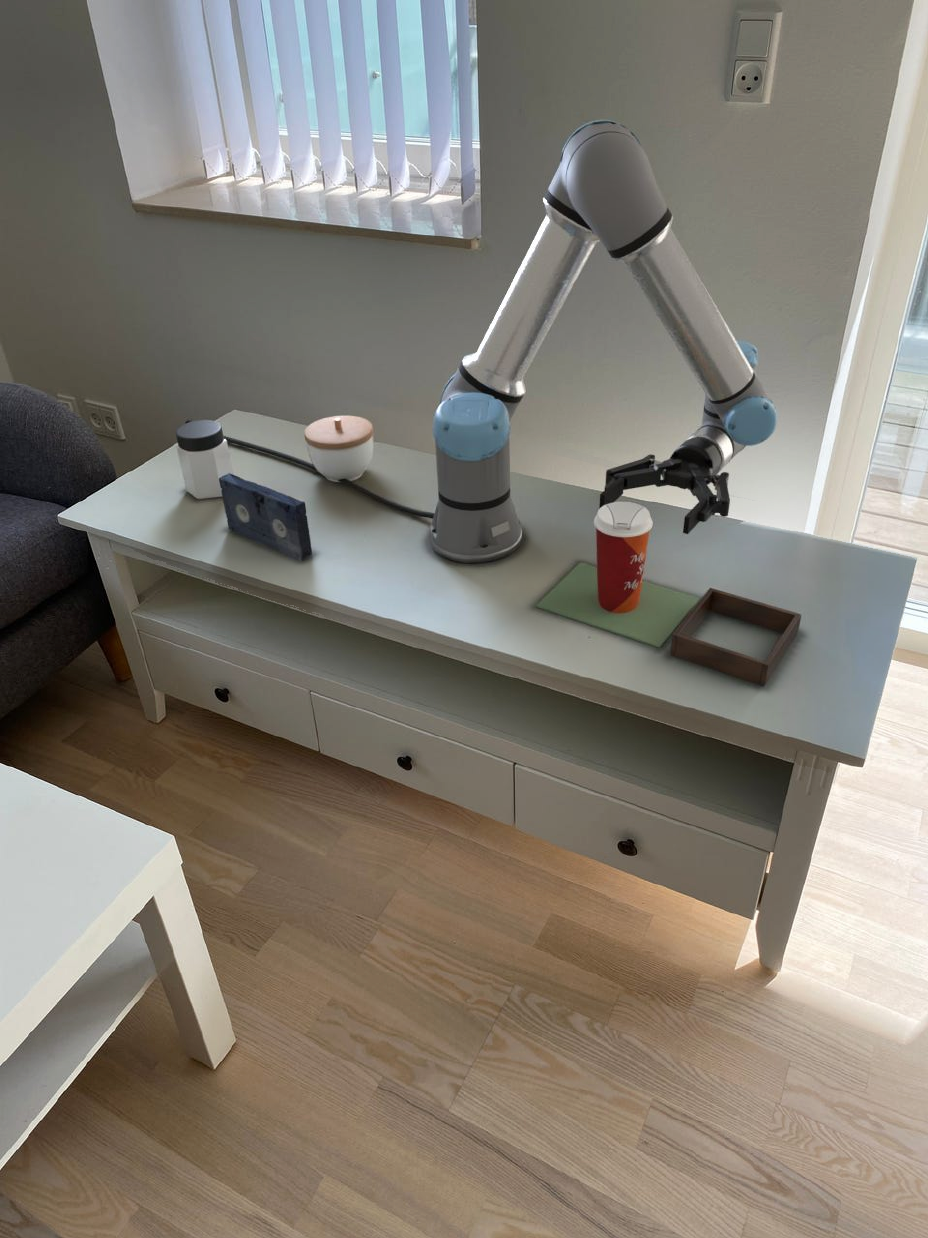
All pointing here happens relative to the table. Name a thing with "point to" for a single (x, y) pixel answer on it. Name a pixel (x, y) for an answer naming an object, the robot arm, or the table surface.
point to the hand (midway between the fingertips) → (642, 514)
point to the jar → (203, 457)
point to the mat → (644, 623)
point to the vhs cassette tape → (266, 516)
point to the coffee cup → (621, 554)
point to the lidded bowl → (340, 446)
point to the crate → (727, 658)
